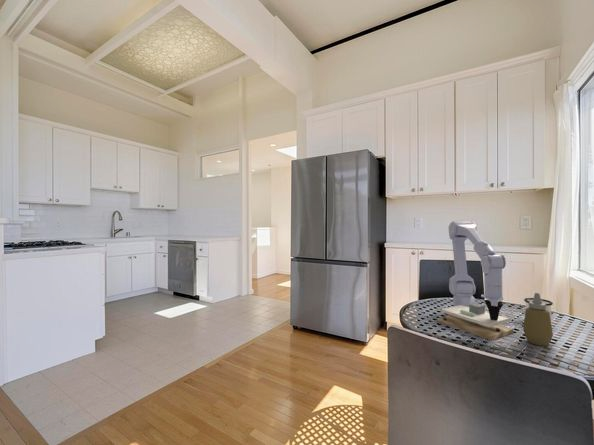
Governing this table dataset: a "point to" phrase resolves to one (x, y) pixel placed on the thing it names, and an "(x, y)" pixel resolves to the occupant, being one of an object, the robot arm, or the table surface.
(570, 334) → the table surface
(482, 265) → the robot arm
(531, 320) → the squeeze bottle
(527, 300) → the mug
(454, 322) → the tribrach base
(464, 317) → the level plate
